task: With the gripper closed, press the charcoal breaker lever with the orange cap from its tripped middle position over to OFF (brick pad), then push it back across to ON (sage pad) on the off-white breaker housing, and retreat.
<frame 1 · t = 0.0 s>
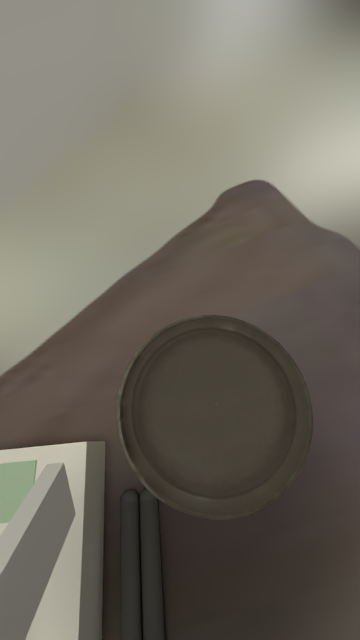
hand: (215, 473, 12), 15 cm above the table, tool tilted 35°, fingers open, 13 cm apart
long thin dark rod: (139, 616, 22), on the table
coffee can: (205, 420, 28), on the table
breaker housing: (19, 594, 23), on the table
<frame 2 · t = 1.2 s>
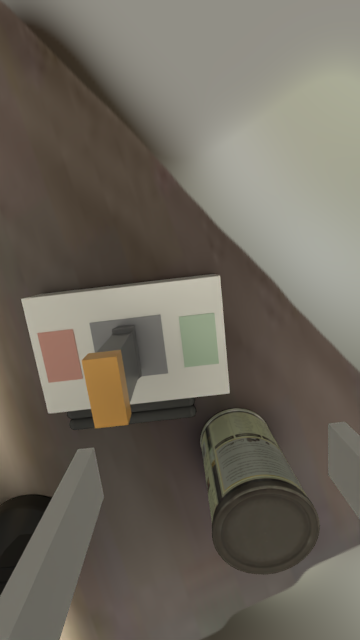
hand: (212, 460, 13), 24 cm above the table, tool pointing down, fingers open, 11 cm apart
breaker lever: (119, 367, 26), point 11 cm above the table, hinge at 0.0°
long thin dark rod: (132, 406, 39), on the table
coffee can: (235, 438, 40), on the table
breaker housing: (136, 336, 36), on the table
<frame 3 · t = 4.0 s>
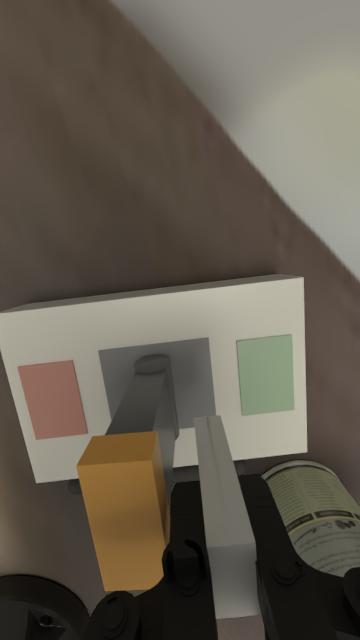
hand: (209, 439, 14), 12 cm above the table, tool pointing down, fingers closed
breaker lever: (148, 436, 15), point 11 cm above the table, hinge at -3.3°, touching gripper
long thin dark rod: (155, 458, 28), on the table
coffee can: (295, 498, 29), on the table
breaker housing: (162, 363, 26), on the table
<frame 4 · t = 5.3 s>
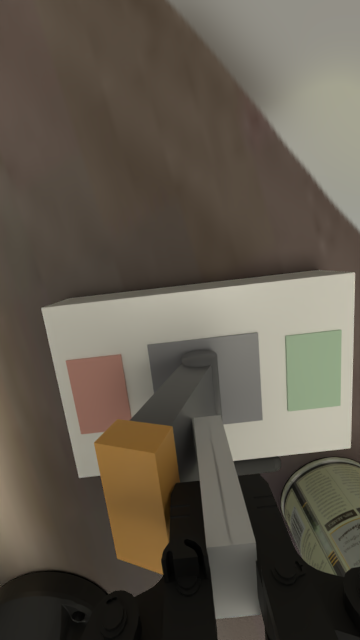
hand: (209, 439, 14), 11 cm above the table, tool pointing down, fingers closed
breaker lever: (182, 429, 15), point 10 cm above the table, hinge at -22.0°, touching gripper
long thin dark rod: (190, 455, 28), on the table
coffee can: (327, 496, 29), on the table
breaker housing: (200, 359, 26), on the table
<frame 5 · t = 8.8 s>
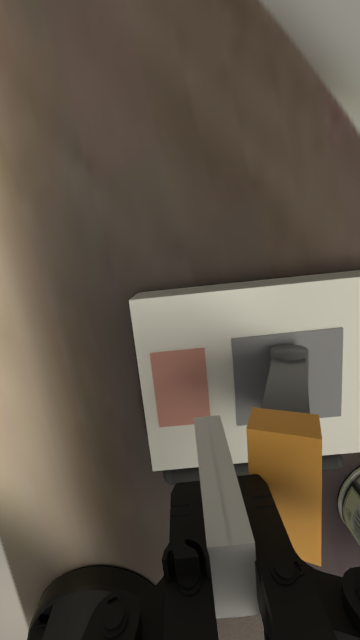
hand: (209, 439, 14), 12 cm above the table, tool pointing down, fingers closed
breaker lever: (287, 421, 15), point 10 cm above the table, hinge at -22.9°, touching gripper
long thin dark rod: (249, 451, 28), on the table
breaker housing: (266, 355, 26), on the table
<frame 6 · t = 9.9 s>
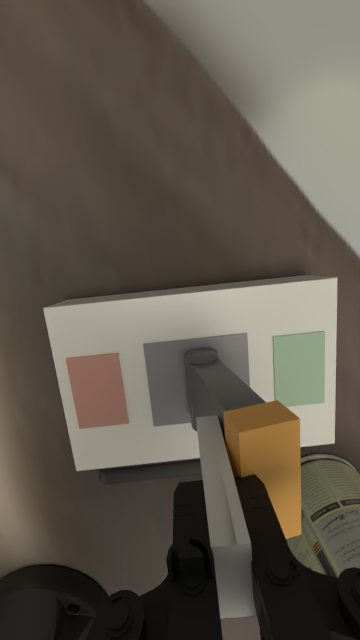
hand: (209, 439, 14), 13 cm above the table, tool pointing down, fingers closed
breaker lever: (224, 418, 16), point 11 cm above the table, hinge at 10.7°, touching gripper
long thin dark rod: (183, 451, 29), on the table
coffee can: (314, 491, 31), on the table
breaker housing: (193, 359, 27), on the table
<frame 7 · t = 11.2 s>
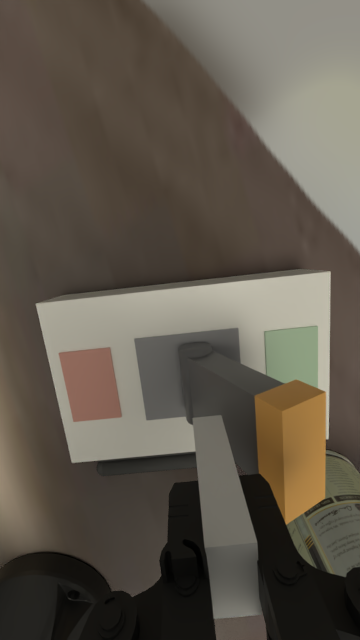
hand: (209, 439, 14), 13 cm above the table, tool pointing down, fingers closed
breaker lever: (232, 407, 17), point 10 cm above the table, hinge at 26.5°
long thin dark rod: (179, 445, 29), on the table
coffee can: (312, 486, 30), on the table
breaker housing: (188, 353, 27), on the table
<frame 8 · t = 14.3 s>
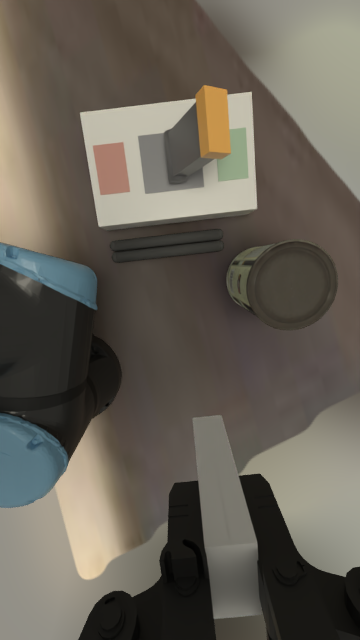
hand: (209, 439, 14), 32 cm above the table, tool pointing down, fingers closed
breaker lever: (191, 143, 31), point 10 cm above the table, hinge at 26.6°
long thin dark rod: (167, 243, 43), on the table
coffee can: (257, 278, 45), on the table
breaker housing: (172, 174, 41), on the table
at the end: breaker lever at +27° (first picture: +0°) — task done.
